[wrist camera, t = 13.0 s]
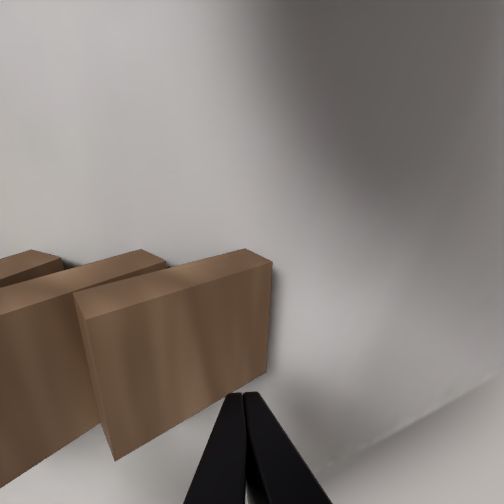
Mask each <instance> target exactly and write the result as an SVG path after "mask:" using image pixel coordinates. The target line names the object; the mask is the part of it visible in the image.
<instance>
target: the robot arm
mask: <svg viewBox="0 0 504 504" xmlns="http://www.w3.org/2000/svg"><path fill="white" fill-rule="evenodd" d="M246 491H247V498H248V504H332V502H331V501H330V499H329V498H328V496H327V495H326V493H325V492H324V490H323V488H322V487H321V485H320V484H319V483H318V481H317V479H316V478H315V476H314V475H313V473H312V472H311V470H310V469H309V467H308V466H307V464H306V463H305V461H304V460H303V458H302V457H301V455H300V454H299V452H298V451H297V449H296V448H295V446H294V445H293V443H292V442H291V440H290V439H289V437H288V436H287V434H286V433H285V431H284V430H283V428H282V427H281V425H280V424H279V422H278V421H277V419H276V418H275V416H274V415H273V413H272V412H271V410H270V408H269V407H268V405H267V404H266V402H265V401H264V399H263V398H262V396H261V395H260V394H259V393H258V392H245V393H243V394H242V393H228V394H227V395H226V397H225V400H224V402H223V405H222V407H221V410H220V412H219V415H218V417H217V420H216V422H215V425H214V427H213V430H212V432H211V435H210V437H209V440H208V442H207V445H206V447H205V450H204V452H203V455H202V457H201V460H200V463H199V465H198V468H197V470H196V473H195V475H194V478H193V480H192V483H191V485H190V488H189V490H188V493H187V495H186V498H185V500H184V503H183V504H245V493H246Z"/></svg>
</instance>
